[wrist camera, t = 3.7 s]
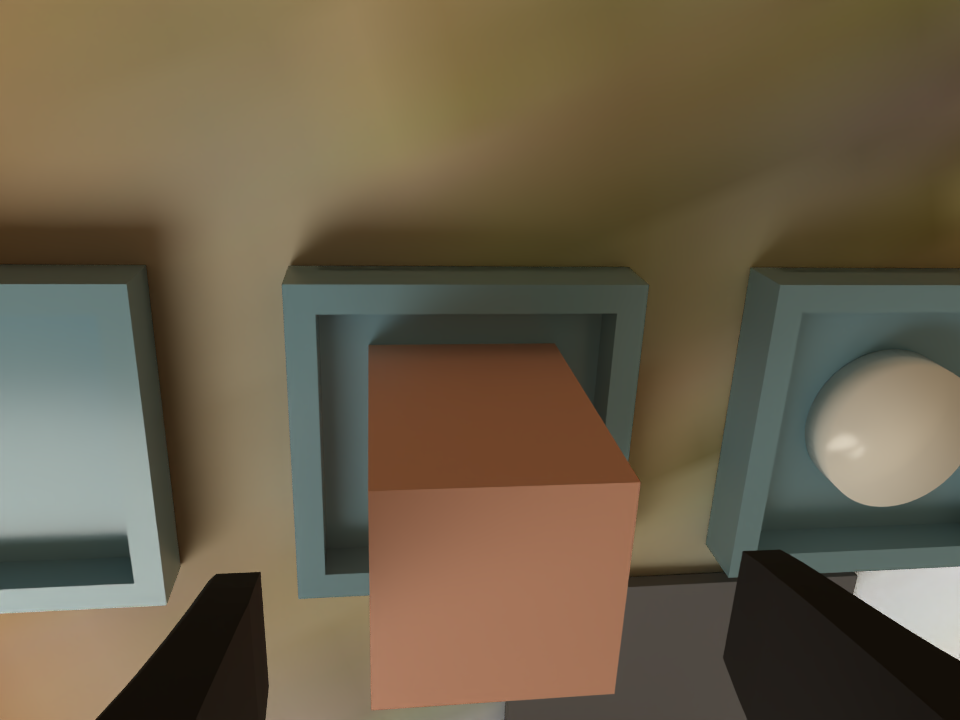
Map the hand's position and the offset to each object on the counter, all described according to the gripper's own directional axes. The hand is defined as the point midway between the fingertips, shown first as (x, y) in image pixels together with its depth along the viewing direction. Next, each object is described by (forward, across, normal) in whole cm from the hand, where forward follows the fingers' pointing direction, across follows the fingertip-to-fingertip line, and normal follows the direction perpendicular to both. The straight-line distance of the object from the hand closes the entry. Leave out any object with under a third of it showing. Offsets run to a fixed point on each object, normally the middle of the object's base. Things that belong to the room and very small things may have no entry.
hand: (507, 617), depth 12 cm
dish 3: (+7, -10, 0) cm, 12 cm away
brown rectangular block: (+6, 0, 0) cm, 7 cm away
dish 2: (+7, 0, 0) cm, 7 cm away
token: (+6, -10, 0) cm, 12 cm away
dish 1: (+7, +10, 0) cm, 12 cm away
